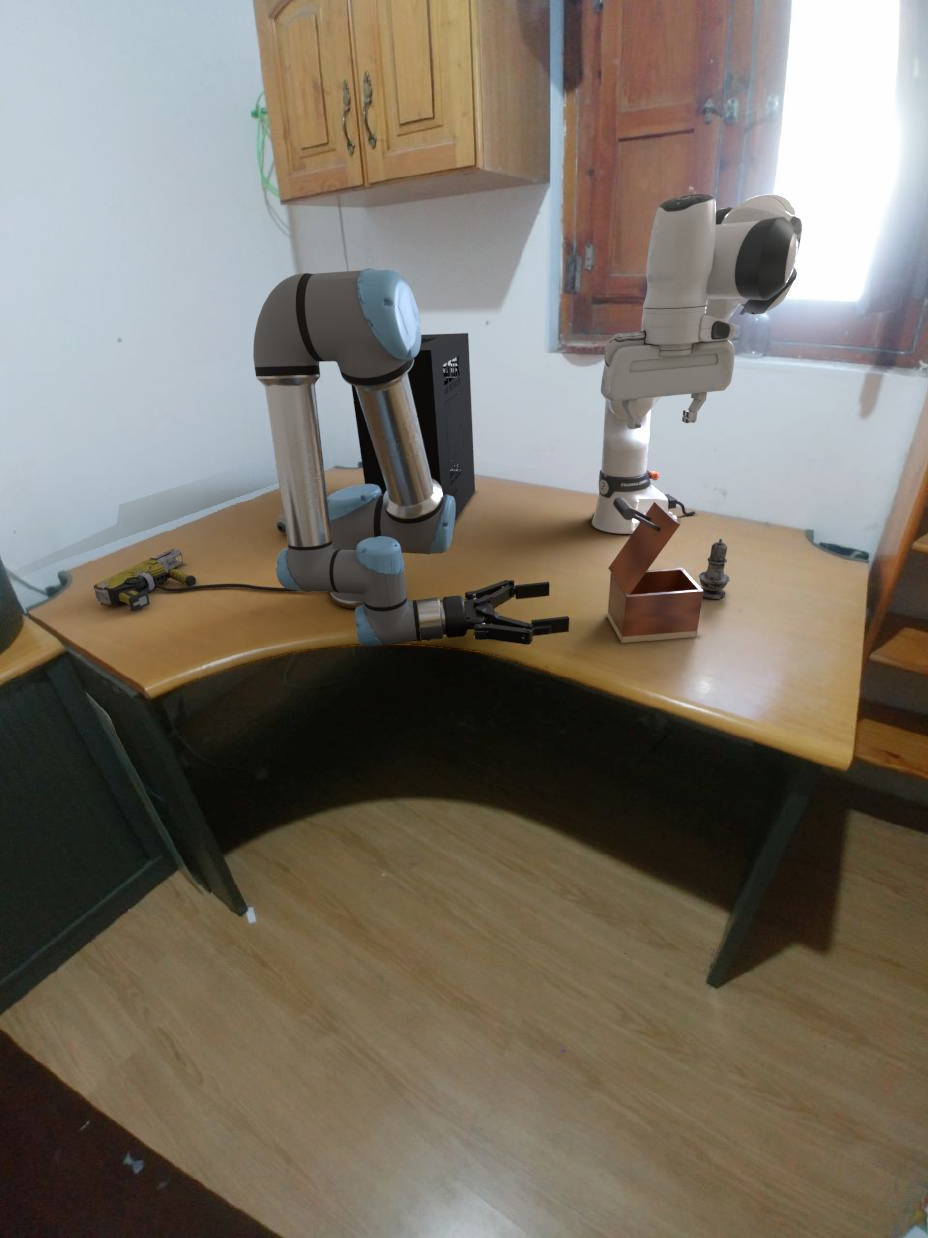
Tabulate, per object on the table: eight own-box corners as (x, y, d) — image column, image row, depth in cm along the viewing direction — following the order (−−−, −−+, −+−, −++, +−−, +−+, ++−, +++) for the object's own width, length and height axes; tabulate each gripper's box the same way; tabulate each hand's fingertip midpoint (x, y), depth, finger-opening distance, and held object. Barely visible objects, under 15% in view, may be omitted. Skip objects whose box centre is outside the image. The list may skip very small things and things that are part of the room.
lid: (660, 504, 107) (619, 482, 105) (680, 524, 99) (637, 501, 96) (613, 571, 113) (574, 551, 111) (629, 594, 105) (587, 574, 102)
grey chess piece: (729, 600, 121) (739, 544, 115) (698, 598, 122) (707, 543, 116) (724, 586, 126) (734, 533, 120) (694, 585, 127) (703, 532, 121)
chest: (676, 611, 119) (682, 567, 114) (696, 636, 110) (704, 591, 105) (607, 616, 118) (610, 573, 113) (621, 642, 110) (626, 597, 105)
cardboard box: (444, 537, 157) (431, 349, 135) (371, 534, 162) (346, 352, 139) (475, 491, 189) (468, 332, 166) (413, 489, 193) (398, 335, 171)
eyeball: (273, 537, 164) (268, 516, 161) (287, 528, 169) (282, 508, 166) (291, 539, 161) (286, 518, 158) (305, 530, 166) (301, 510, 163)
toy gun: (219, 557, 146) (169, 546, 150) (142, 598, 126) (87, 585, 129) (222, 574, 148) (172, 563, 152) (147, 618, 128) (92, 604, 132)
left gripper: (438, 603, 121) (541, 592, 123) (451, 674, 100) (577, 659, 101) (435, 569, 117) (542, 559, 119) (449, 635, 96) (578, 621, 98)
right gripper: (615, 335, 84) (608, 436, 91) (746, 325, 88) (730, 422, 94) (597, 332, 90) (592, 427, 96) (721, 322, 93) (708, 415, 100)
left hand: (558, 605), depth 110 cm, fingers open, 13 cm apart
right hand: (661, 425), depth 95 cm, fingers open, 8 cm apart
